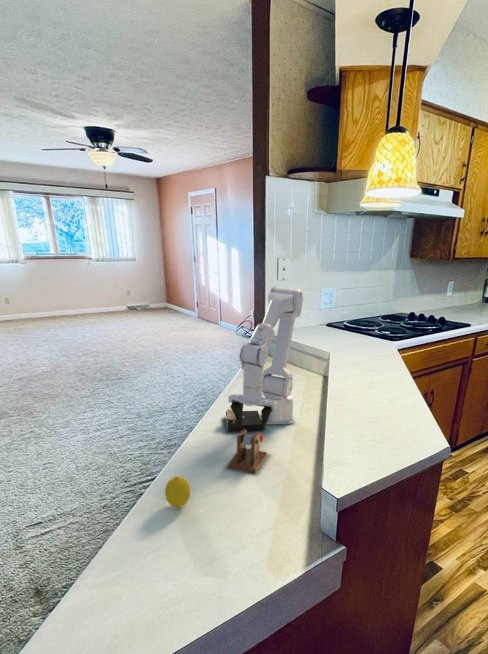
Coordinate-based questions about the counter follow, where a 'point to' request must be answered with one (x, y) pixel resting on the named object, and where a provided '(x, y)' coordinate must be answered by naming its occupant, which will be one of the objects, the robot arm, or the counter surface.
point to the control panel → (245, 422)
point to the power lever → (248, 439)
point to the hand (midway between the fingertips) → (251, 426)
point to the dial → (230, 414)
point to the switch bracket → (248, 454)
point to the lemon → (177, 491)
